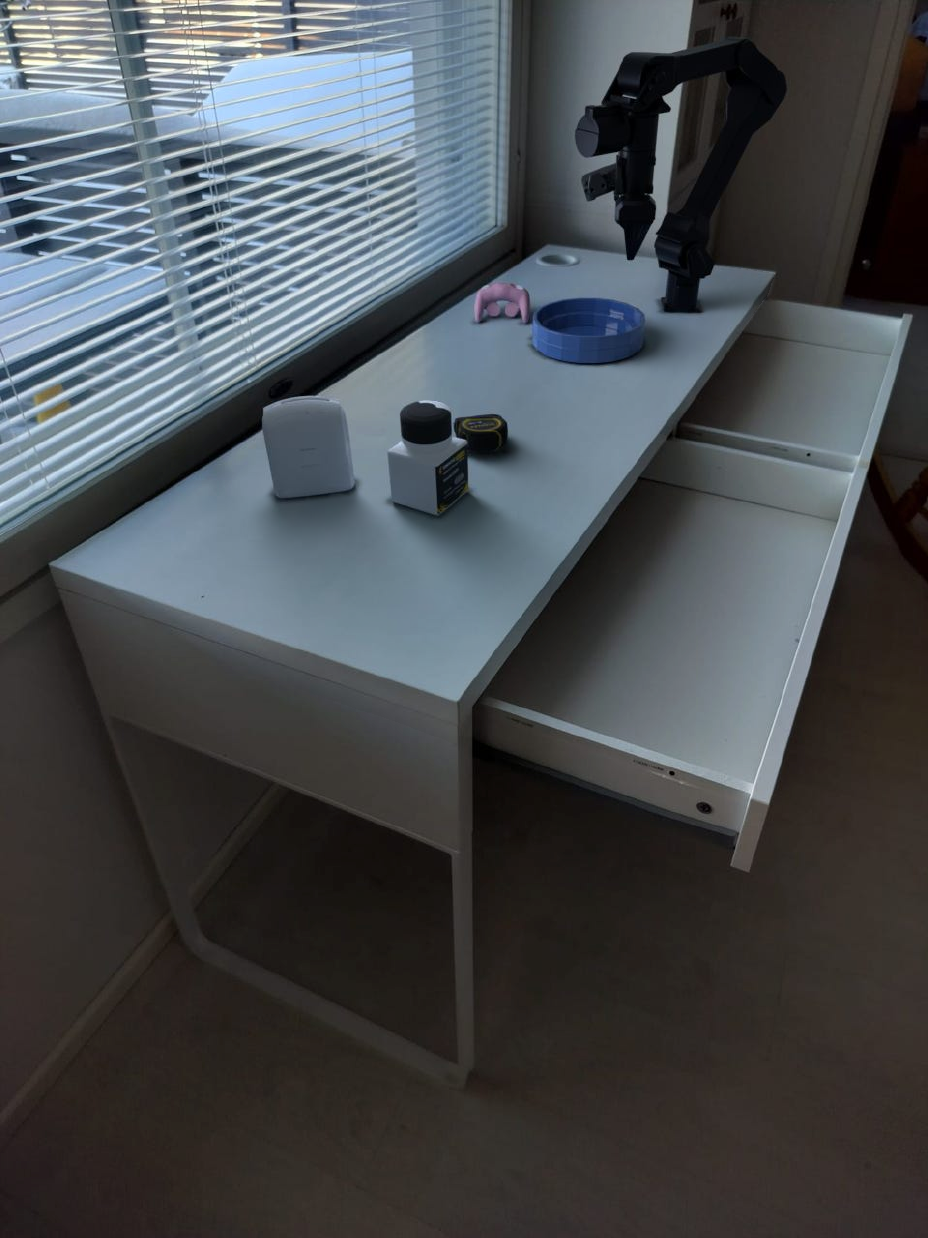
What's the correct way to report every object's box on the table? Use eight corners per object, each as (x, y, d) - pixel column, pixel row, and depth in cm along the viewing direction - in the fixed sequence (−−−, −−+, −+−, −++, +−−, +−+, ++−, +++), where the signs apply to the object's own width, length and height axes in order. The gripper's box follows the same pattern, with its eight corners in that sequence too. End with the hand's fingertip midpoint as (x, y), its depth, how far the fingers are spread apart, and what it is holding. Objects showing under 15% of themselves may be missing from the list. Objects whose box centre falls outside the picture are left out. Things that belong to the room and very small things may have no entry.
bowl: (534, 322, 156) (535, 297, 154) (638, 323, 155) (641, 297, 152) (530, 363, 142) (531, 336, 140) (645, 365, 141) (648, 337, 138)
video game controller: (529, 325, 160) (531, 284, 158) (529, 322, 155) (530, 280, 154) (475, 324, 160) (476, 284, 159) (473, 321, 156) (473, 279, 155)
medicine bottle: (438, 517, 107) (433, 426, 99) (390, 502, 110) (382, 412, 102) (469, 490, 112) (467, 401, 104) (422, 477, 115) (417, 389, 107)
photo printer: (274, 502, 111) (257, 410, 103) (273, 485, 114) (257, 395, 106) (356, 493, 112) (345, 401, 104) (353, 476, 115) (343, 386, 107)
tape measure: (501, 433, 124) (501, 408, 121) (512, 455, 118) (513, 430, 116) (453, 438, 123) (452, 413, 121) (462, 461, 118) (461, 435, 115)
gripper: (586, 136, 147) (581, 235, 157) (585, 162, 132) (580, 269, 142) (654, 135, 145) (645, 234, 155) (660, 161, 131) (650, 269, 141)
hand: (629, 251), depth 148 cm, fingers open, 9 cm apart
